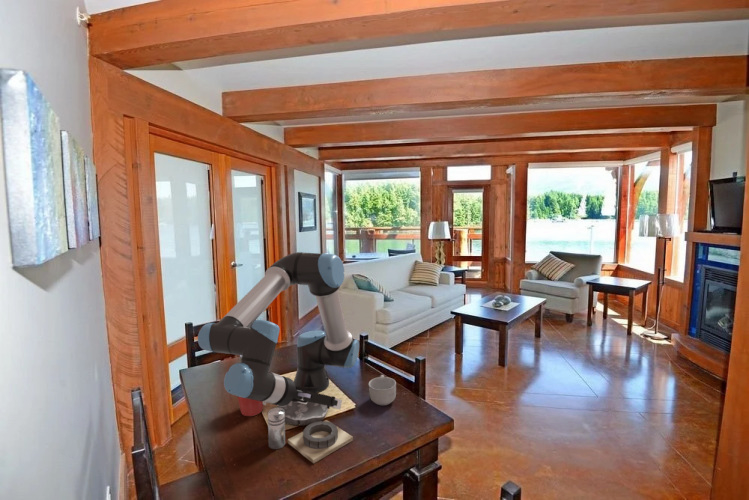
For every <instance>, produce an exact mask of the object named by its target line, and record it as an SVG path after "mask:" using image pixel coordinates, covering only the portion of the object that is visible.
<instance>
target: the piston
mask: <svg viewBox="0 0 749 500" xmlns="http://www.w3.org/2000/svg"><path fill="white" fill-rule="evenodd" d="M267 429H268V430H267V431H268V433H267V439H268V448H270V449H272V450H278V449H281V448H283V447H284V446H285V445H286V423H285V410H284V409H283V408H276V407H273V408H271V409H269V410H268V412H267Z"/></svg>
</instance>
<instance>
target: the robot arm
mask: <svg viewBox="0 0 749 500" xmlns="http://www.w3.org/2000/svg"><path fill="white" fill-rule="evenodd" d="M344 273H345V267H344V263H343V261H342V259H341V257H339V256H338V255H336V254H334V253H328V252H323V253H319V252H318V253H314V252H313V253H312V252H302V251H298V252H293V253H289V254H287V255H285V256H284V257H281V258H280V259H277V261H275V262H274V263H273V264H271V265H270V266H269V267H268V268H267V269H266V270H265V273H264V276H263V277H262V278H261V279H260V280H259V281H258V282H257V283H256V284H255V285H254V286H253V287H252V288H251V289H250V290H249V291H248V292H247V293H246V294H245V295H244V296H243V297H242V298H241V299H240V300H239V301H238V302H237V303H236V304H235V305H234V306H233V307H231V309H230V310H229V311H228V312H227V313H226V314H225V315H224V316H223V318H221V319H220V320H219V321H217V322H209V323H206V324H204V325H202V327H201V328H200V330H199V332H198V334H197V343H198V345H199V346H198V347H200V349H202V350H203V351H204V350H205V351H208V352H212V353H220V354H221V353H222V354H228V355H235V356H242V357H241V359H240V362H236V363H234V364H232V365H231V366H230V367H229V368H228V369H229V370H228V371H226V372H225V375H224V379H223V386H224V389H225V391H226V392H227V393H228V394H230V395H232V396H236V397H237V398H238V397H242V398H247V399H252V400H257V401H262V402H263V406H266V405H267V404H271V405H274V406H285V405H287V404H289V403H290V402H291V401H293V402H299V403H303V404H307V402H312V403H317V404H322V405H326V406H327V408H328V410H330V408H332V409H336V410H341V408H342V403H343V399H341V398H336V397H335V396H333V395H326V394H323V393H319V392H322V390H323V391H324V390H325V391H326V389H327V388H328V387H329V386H330V378H329V374H328V372H327V369H326V366H331V367H336V368H337V367H338V368H343V369H352V368H354V366H355V365H356V363H357V360H358V358H359V357H358V356H359V352H360V341H359V340H358V339H356V338H353V335H352V333H351V332H350V331H349V330H348V328H347V324H346V319H345V316H344V312H343V306H342V301H341V298H340V292H339V290H340V289H341V286H342V285H343V283H344V279H345V274H344ZM292 285H300V286H301V285H303V286H308V289H309V292H310V294H311V295H313V296H314V297H315V300H316V303H317V306H318V312H319V314H320V318H321V322H322V326H323V330H319V329H318V330H309V331H306V332H303V333H301V334H300V335H298V336H297V341H296V342H297V343H296V356H297V358H296V359H297V360H296V363H297V370H296V373H295V377H294V379H292V378H291V377H288V376H284V375H280V374H278V373H275V372H272V371H269V370H270V366H271V363H272V360H273V358H274V357H273V356H274V354H275V353H274V352H275V349H276V347H277V344H278V341H279V334H280V331H281V329H280V326H279V325H278V324H276V323H274V322H272V321H270V320H266V319H258V318H259V317H260V316H261V315H262V314H263V313H264V311H266V309H267V308H268V307H269V306H270V305H271V304H272V303H273V301H274V300H275V299H276V298H277V297H278V295H279V294H280V293H281V292H283V291H286V290H287V289H289V287H291V286H292Z"/></svg>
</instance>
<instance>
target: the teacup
mask: <svg viewBox="0 0 749 500" xmlns="http://www.w3.org/2000/svg"><path fill="white" fill-rule="evenodd" d="M368 390H369V397H370V399H371V401H372V402H373V403H375V405H379V406H388V405H390V404H391V403H392V402H394V401H395V399H396V395H397V382H396V380H395V379H394V378H391V377H387V376H385V375H383V374H380V376H377V377H375V378H374V377H373V378H372V379H371V380H369V382H368Z"/></svg>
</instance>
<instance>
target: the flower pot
mask: <svg viewBox="0 0 749 500" xmlns="http://www.w3.org/2000/svg"><path fill="white" fill-rule="evenodd" d="M237 400H238V401H237V402H238V405H239V409H240V413H241V415H242V416H244V417H245V416H246V417H253V416H257V415H259V414H260V413H262V411H263V409H264V405H263V402H262V401H257V400H252V399H247V398H242V397H238V396H237Z"/></svg>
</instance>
